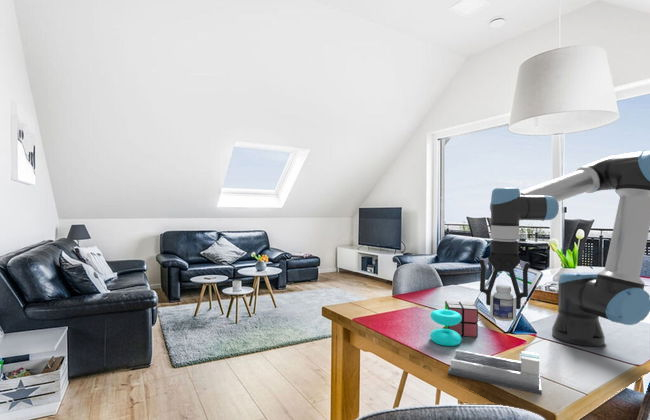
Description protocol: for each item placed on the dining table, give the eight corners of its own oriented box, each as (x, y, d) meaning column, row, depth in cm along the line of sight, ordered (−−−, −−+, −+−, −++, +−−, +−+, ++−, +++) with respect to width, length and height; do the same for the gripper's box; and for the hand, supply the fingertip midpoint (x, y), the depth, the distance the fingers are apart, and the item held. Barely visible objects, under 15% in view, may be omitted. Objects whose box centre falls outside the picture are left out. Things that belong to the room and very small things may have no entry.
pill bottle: (491, 315, 112) (491, 283, 112) (510, 316, 111) (510, 284, 111) (495, 321, 107) (496, 287, 107) (515, 322, 106) (516, 288, 106)
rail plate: (539, 376, 100) (539, 363, 100) (541, 394, 90) (541, 380, 90) (454, 359, 110) (454, 347, 110) (448, 374, 100) (448, 361, 100)
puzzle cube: (477, 337, 128) (478, 309, 128) (447, 335, 130) (448, 307, 130) (472, 328, 138) (472, 302, 138) (444, 326, 140) (444, 300, 140)
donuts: (455, 308, 129) (466, 317, 119) (455, 336, 129) (466, 347, 119) (427, 308, 129) (435, 316, 119) (426, 336, 129) (435, 347, 119)
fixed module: (538, 376, 97) (538, 353, 97) (539, 385, 93) (539, 361, 92) (520, 372, 99) (521, 350, 99) (520, 381, 94) (521, 357, 94)
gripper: (539, 240, 108) (538, 319, 108) (472, 237, 116) (471, 310, 117) (541, 243, 101) (539, 326, 101) (469, 239, 110) (468, 316, 110)
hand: (502, 317), depth 109 cm, fingers closed on pill bottle, 5 cm apart
